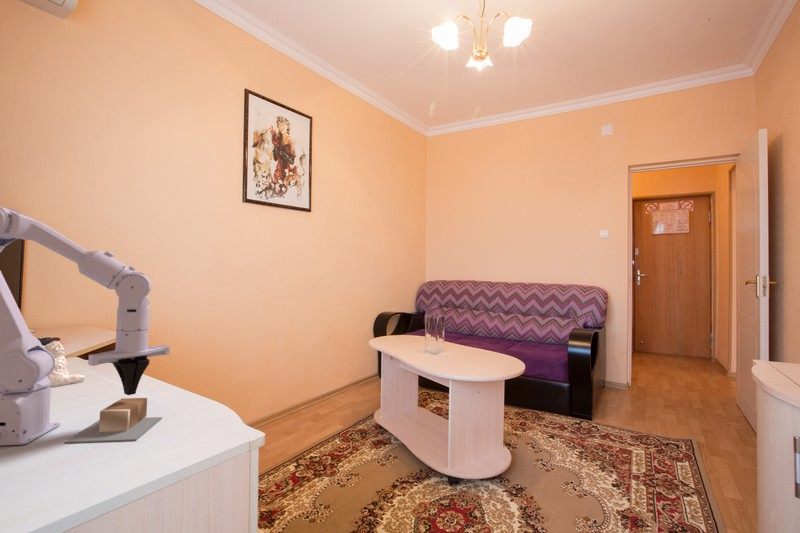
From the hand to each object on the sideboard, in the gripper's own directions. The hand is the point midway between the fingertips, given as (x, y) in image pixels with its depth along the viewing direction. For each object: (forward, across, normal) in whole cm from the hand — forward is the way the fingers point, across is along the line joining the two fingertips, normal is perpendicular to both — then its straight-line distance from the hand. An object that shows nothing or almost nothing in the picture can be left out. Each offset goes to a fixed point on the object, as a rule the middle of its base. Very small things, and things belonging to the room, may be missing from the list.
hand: (129, 393), depth 83 cm
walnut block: (+4, -2, -1) cm, 4 cm away
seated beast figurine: (+6, 0, -44) cm, 44 cm away
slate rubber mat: (+6, +3, +3) cm, 7 cm away
